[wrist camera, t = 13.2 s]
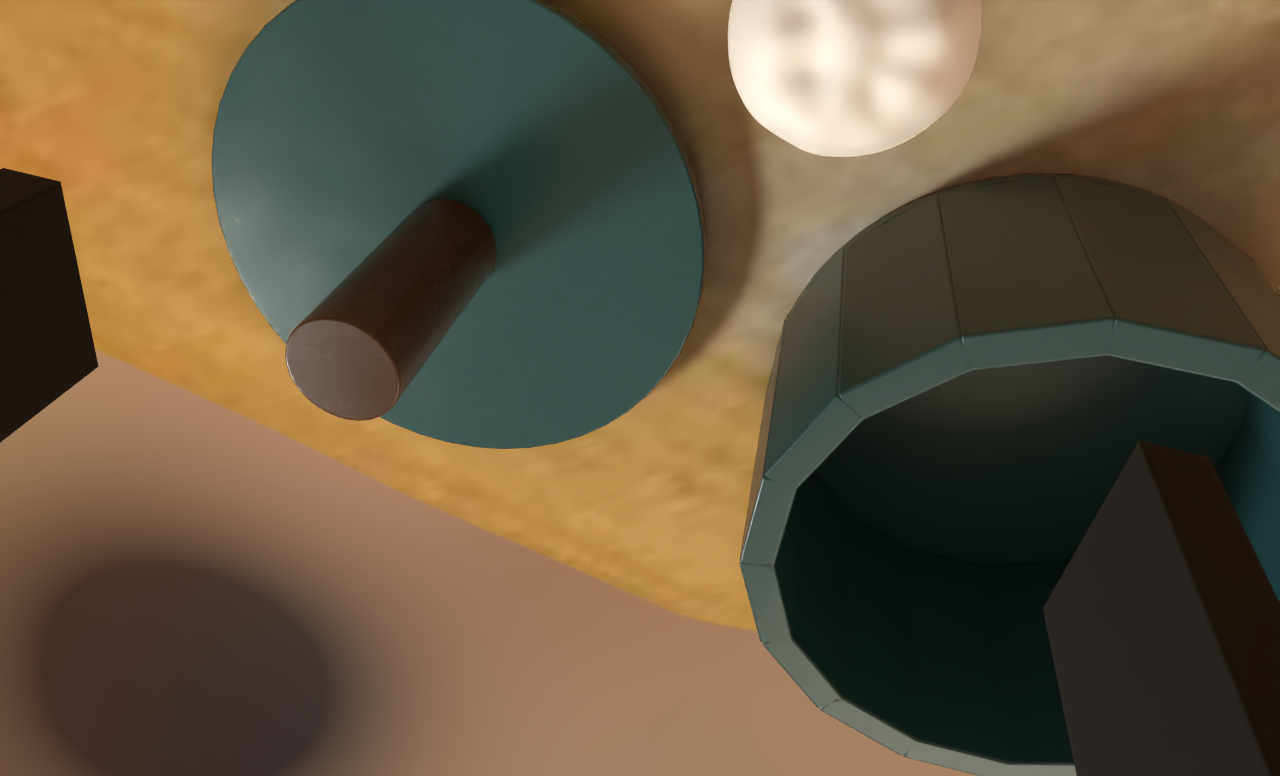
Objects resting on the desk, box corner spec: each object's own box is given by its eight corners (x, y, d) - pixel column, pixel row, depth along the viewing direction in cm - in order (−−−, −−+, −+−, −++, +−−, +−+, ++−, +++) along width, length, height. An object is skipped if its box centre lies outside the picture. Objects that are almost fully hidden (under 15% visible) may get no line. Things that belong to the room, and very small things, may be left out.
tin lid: (201, -86, 27) (-40, -28, 20) (756, 18, 25) (713, 120, 18) (256, 376, 36) (104, 531, 29) (668, 471, 34) (616, 659, 27)
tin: (833, 125, 26) (821, 256, 20) (1388, 233, 25) (1587, 415, 18) (733, 517, 35) (700, 706, 28) (1145, 613, 34) (1218, 837, 27)
